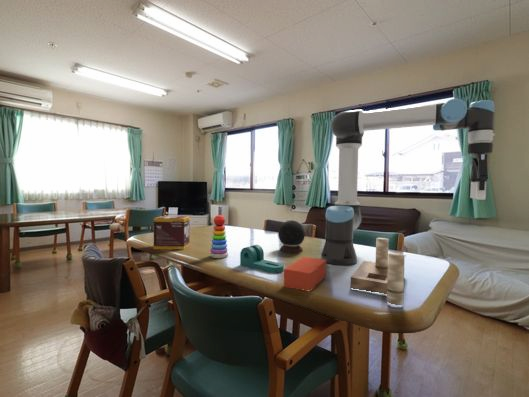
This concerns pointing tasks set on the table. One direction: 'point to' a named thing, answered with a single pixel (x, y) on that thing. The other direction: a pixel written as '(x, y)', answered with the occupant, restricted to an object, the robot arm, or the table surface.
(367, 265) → the walnut board
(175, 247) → the supplement box
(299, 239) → the black ball on stand
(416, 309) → the table surface
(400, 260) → the beech leg
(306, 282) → the brick
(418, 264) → the table surface
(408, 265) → the table surface
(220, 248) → the stacking toy
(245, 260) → the bracket
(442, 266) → the table surface
